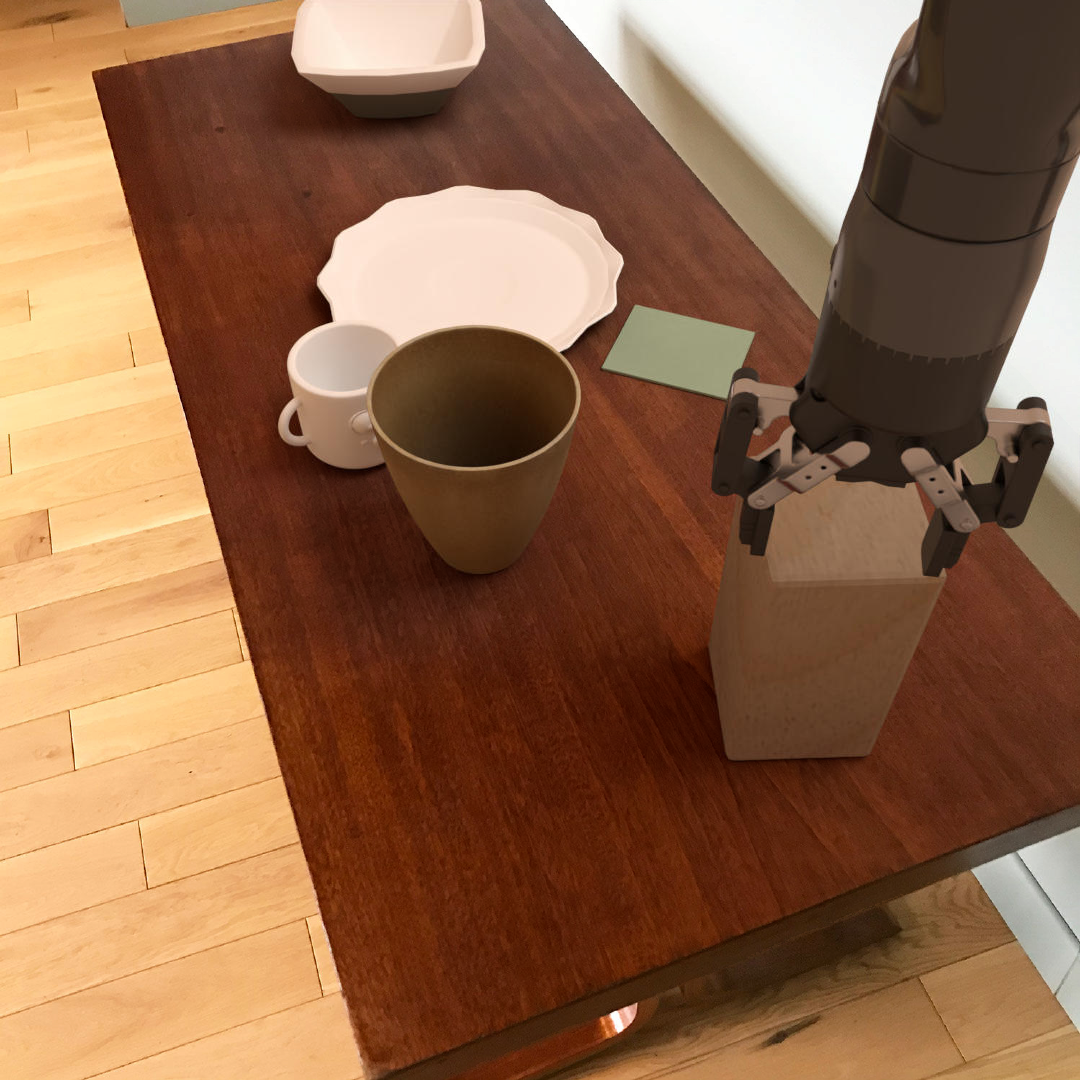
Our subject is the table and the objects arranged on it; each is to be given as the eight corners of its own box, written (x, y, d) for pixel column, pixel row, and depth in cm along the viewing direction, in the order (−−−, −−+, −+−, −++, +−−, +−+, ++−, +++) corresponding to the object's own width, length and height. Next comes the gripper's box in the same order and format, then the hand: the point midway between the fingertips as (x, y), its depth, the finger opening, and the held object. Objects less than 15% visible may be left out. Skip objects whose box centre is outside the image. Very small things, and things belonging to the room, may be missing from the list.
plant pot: (376, 609, 85) (348, 462, 73) (405, 470, 95) (384, 319, 83) (571, 620, 84) (575, 473, 72) (580, 478, 94) (585, 327, 82)
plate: (366, 195, 122) (363, 175, 120) (633, 217, 119) (635, 197, 117) (286, 371, 103) (282, 351, 101) (602, 402, 100) (603, 382, 98)
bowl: (482, 48, 144) (479, -20, 138) (491, 140, 129) (488, 69, 123) (311, 55, 143) (299, -13, 137) (299, 149, 128) (286, 78, 122)
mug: (324, 511, 92) (306, 431, 85) (261, 443, 97) (238, 363, 90) (442, 445, 97) (434, 365, 90) (376, 384, 102) (363, 303, 95)
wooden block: (725, 763, 76) (770, 582, 61) (706, 644, 83) (742, 453, 68) (871, 759, 76) (951, 577, 61) (840, 639, 83) (906, 448, 68)
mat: (754, 334, 106) (755, 332, 106) (727, 401, 100) (728, 398, 100) (634, 306, 109) (635, 304, 109) (601, 369, 103) (601, 367, 103)
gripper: (740, 332, 42) (696, 594, 55) (1131, 370, 41) (995, 631, 53) (747, 220, 47) (705, 484, 59) (1098, 250, 46) (980, 515, 58)
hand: (842, 553), depth 56 cm, fingers open, 8 cm apart
